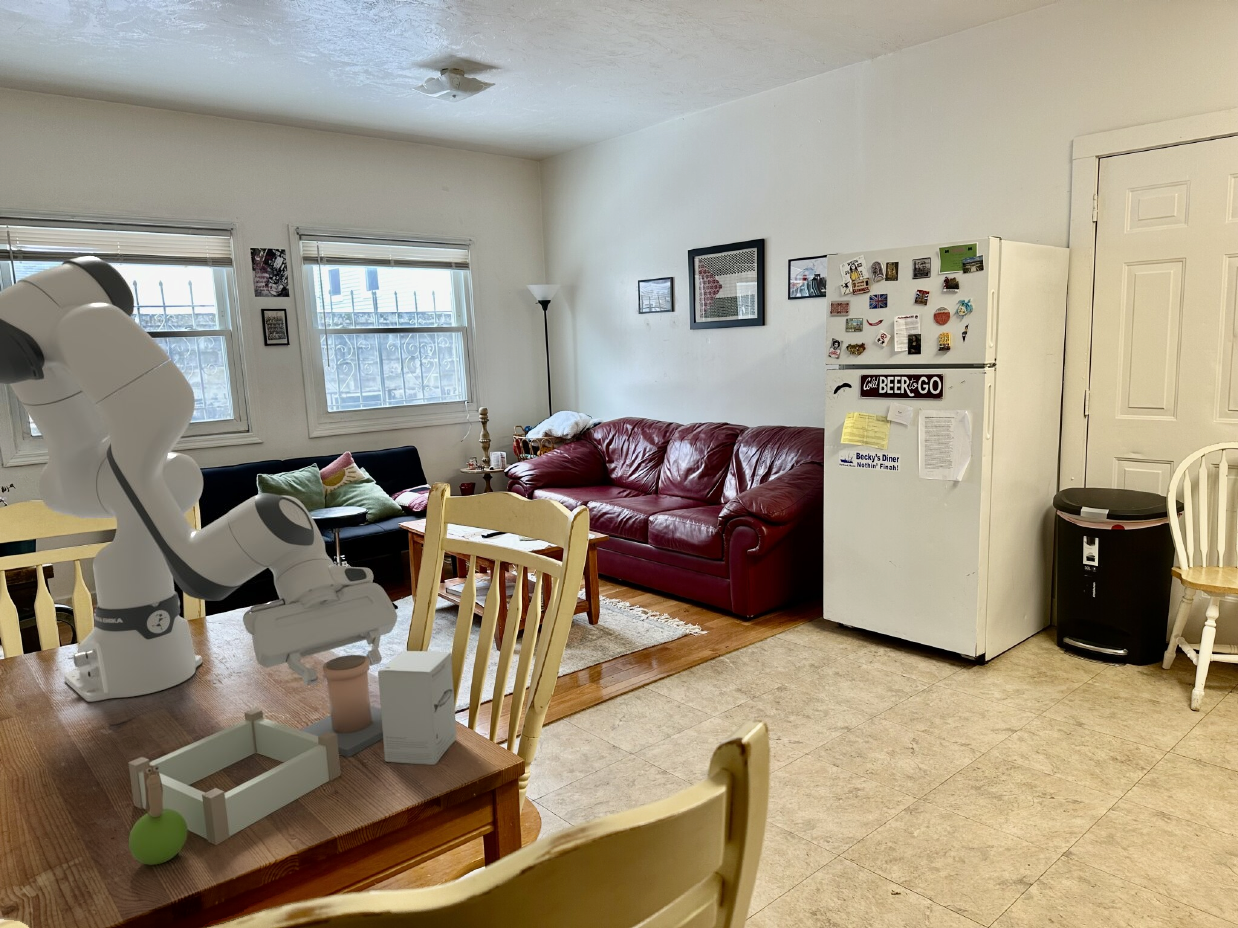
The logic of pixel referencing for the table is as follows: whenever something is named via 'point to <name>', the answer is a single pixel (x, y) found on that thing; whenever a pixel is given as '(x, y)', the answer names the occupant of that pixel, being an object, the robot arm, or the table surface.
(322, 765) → the raised garden bed frame
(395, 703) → the supplement box
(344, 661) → the terracotta pot
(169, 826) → the snail figurine
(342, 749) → the rubber mat
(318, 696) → the table surface
